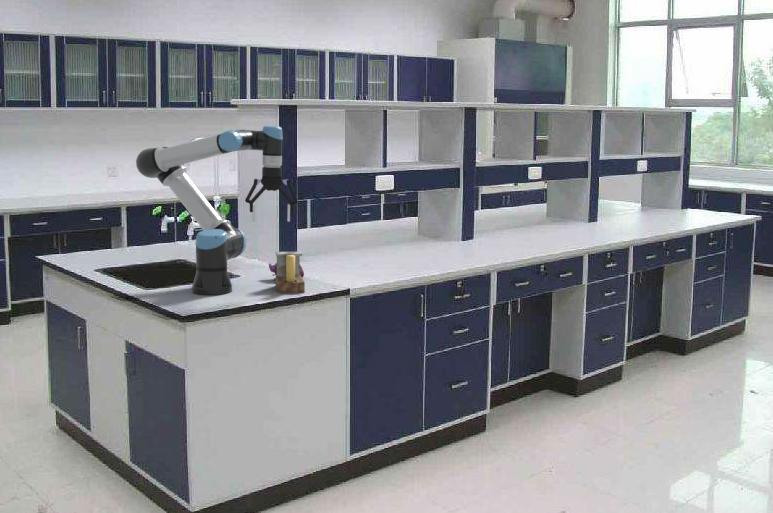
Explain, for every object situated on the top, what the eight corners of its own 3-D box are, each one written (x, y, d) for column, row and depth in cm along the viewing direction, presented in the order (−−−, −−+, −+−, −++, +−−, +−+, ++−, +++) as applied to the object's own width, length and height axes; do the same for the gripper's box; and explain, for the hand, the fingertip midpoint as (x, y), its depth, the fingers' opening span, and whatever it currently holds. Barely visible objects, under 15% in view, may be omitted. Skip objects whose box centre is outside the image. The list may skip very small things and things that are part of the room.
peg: (286, 290, 329) (285, 255, 327) (294, 290, 330) (294, 255, 327) (286, 292, 326) (286, 256, 323) (295, 292, 326) (295, 256, 324)
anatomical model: (304, 275, 358) (269, 269, 357) (306, 255, 354) (271, 250, 353) (300, 288, 347) (264, 282, 346) (303, 268, 343) (266, 262, 342)
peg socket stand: (278, 293, 324) (278, 257, 321) (275, 285, 337) (275, 251, 335) (304, 292, 326) (304, 257, 324) (300, 285, 339) (300, 251, 337)
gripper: (239, 166, 318) (239, 221, 322) (305, 168, 323) (304, 222, 327) (239, 164, 326) (238, 219, 329) (303, 166, 331) (302, 220, 334)
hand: (271, 221), depth 328 cm, fingers open, 13 cm apart
